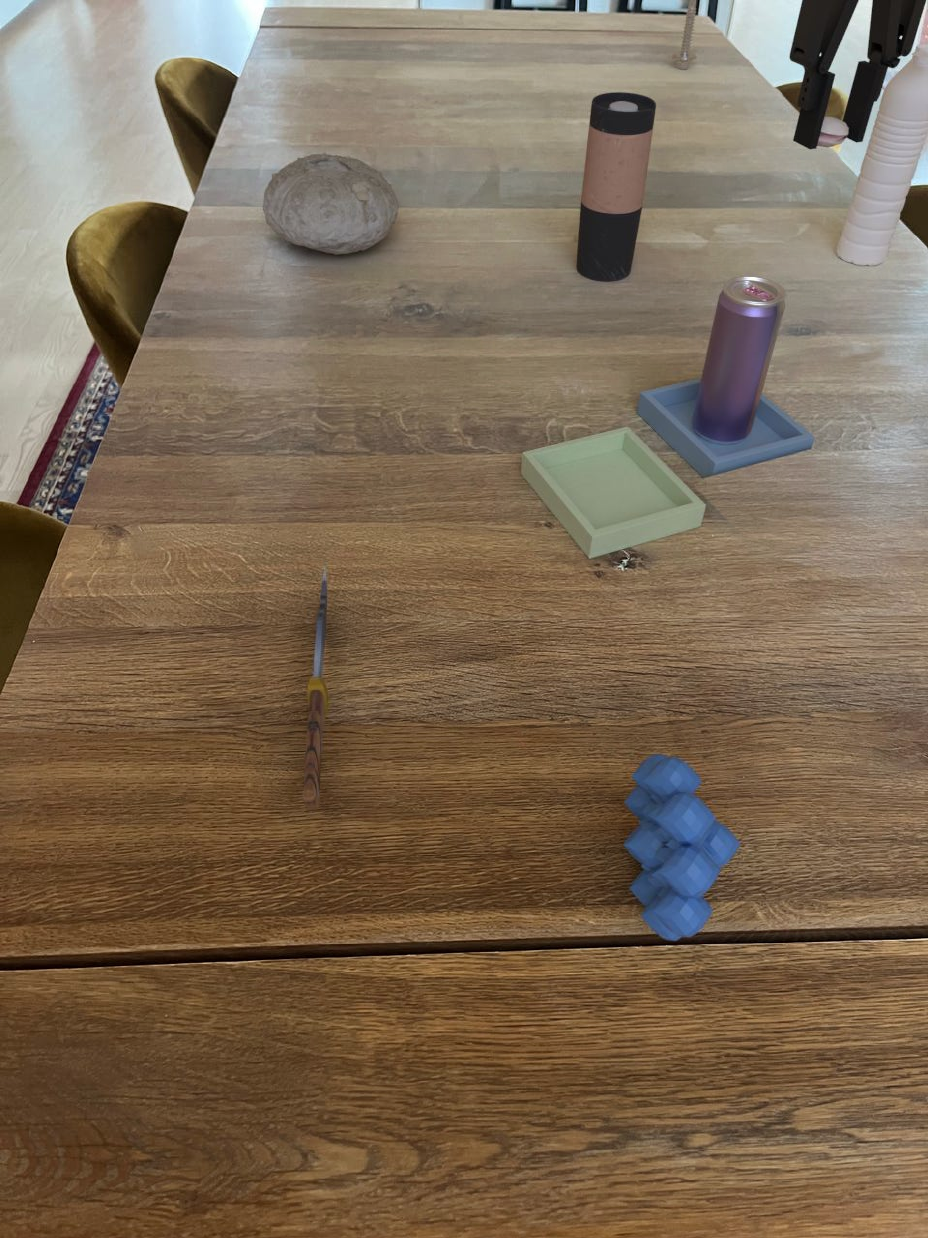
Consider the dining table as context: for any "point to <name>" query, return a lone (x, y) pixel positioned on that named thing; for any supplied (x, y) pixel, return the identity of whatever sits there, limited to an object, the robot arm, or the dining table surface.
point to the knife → (316, 709)
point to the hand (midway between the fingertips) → (827, 140)
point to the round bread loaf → (330, 204)
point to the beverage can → (738, 358)
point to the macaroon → (832, 132)
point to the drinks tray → (673, 423)
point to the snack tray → (611, 491)
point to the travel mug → (614, 183)
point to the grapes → (674, 847)
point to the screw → (686, 40)
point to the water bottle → (888, 165)
